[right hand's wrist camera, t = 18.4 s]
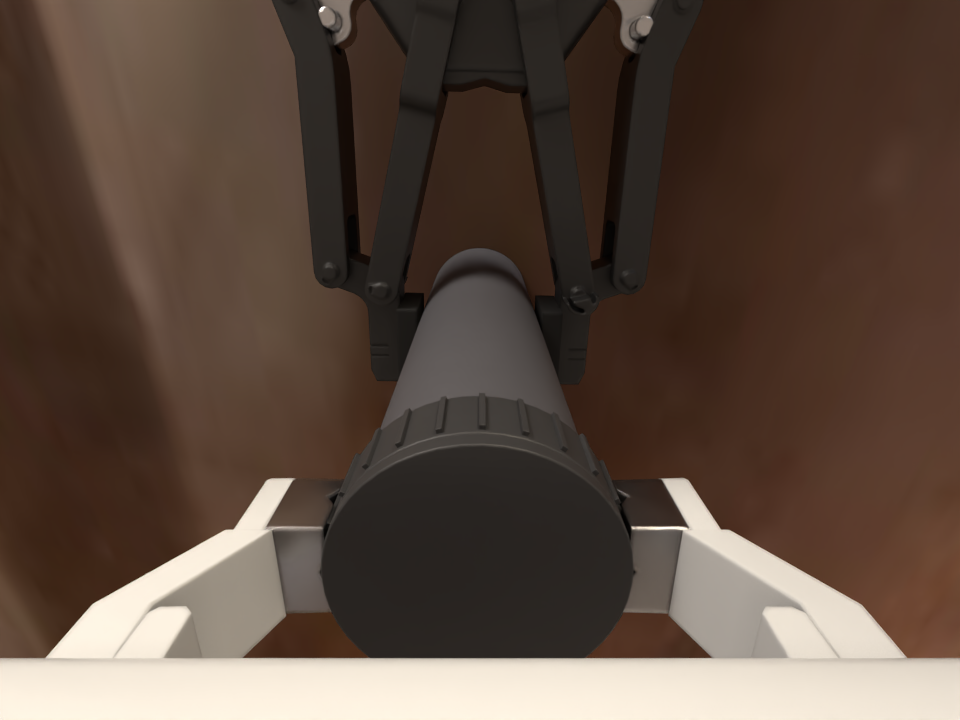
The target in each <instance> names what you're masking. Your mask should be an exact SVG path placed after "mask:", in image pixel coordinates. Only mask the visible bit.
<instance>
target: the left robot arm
mask: <svg viewBox="0 0 960 720" xmlns="http://www.w3.org/2000/svg"><path fill="white" fill-rule="evenodd" d="M364 1H366V0H272V2H273V4H274V7H275V9H276V12H277V14H278V17H279V19H280V22H281V24H282V26H283V29H284V31H285V34H286V36H287V39H288V41H289V44H290V46H291V49H292V51H293V54H294V56H295V65H296V76H297V88H298V99H299V110H300V121H301V132H302V143H303V155H304V166H305V177H306V188H307V199H308V210H309V222H310V233H311V244H312V255H313V266H314V274H315V277H316V279H317V280H318V282H319V283H320V284H321V285H323V286H324V287H327V288H341V289H344V290H346V291H349V292H352V293H354V294H356V295H358V296H359V297H361V298H362V299H363V300H364V302H365V303H366V305H367V307H368V313H369V331H370V345H371V346H370V350H371V368H372V371H373V373H374V375H375V377H376V379H377V381H398V379H399V377H400V374H401V371H402V368H403V366H404V363H405V360H406V358H407V355H408V352H409V349H410V347H411V344H412V341H413V339H414V336H415V333H416V331H417V328H418V325H419V322H420V320H421V317H422V314H423V312H424V293H405V294H404V284H405V282H406V280H407V278H408V277H407V272H408V268H409V263H410V259H411V254H412V250H413V245H414V241H415V236H416V231H417V227H418V222H419V218H420V213H421V209H422V204H423V200H424V195H425V191H426V186H427V182H428V177H429V173H430V168H431V164H432V159H433V154H434V150H435V145H436V141H437V136H438V132H439V127H440V123H441V120H442V117H443V113H444V109H445V105H446V101H447V96H448V92H449V91H453V92H463V91H467V90H471V89H474V88H478V87H482V86H487V87H490V88H493V89H496V90H499V91H502V92H505V93H520V96H521V102H522V107H523V113H524V117H525V121H526V124H527V129H528V135H529V141H530V146H531V152H532V158H533V164H534V170H535V175H536V181H537V187H538V193H539V198H540V204H541V210H542V216H543V222H544V227H545V233H546V239H547V245H548V250H549V256H550V262H551V268H552V274H553V279H554V285H555V298H554V296H536V298H535V314H536V317H537V320H538V323H539V326H540V329H541V331H542V334H543V337H544V340H545V343H546V346H547V349H548V351H549V354H550V357H551V360H552V363H553V366H554V368H555V371H556V374H557V377H558V380H559V383H560V384H579V382H580V380H581V378H582V377H583V375H584V372H585V362H586V360H585V359H586V352H587V351H586V349H587V342H588V332H589V322H590V315H591V313H592V312H594V311H595V310H596V308H597V306H598V304H599V302H600V301H601V300H603V299H605V298H608V297H612V296H615V295H618V294H621V293H622V294H627V295H629V294H634V293H636V292H637V291H639V290H640V289H641V288H642V287H643V286H644V283H645V280H646V274H647V267H648V260H649V252H650V245H651V238H652V230H653V223H654V215H655V208H656V201H657V193H658V186H659V179H660V171H661V164H662V156H663V149H664V142H665V134H666V127H667V120H668V112H669V105H670V97H671V90H672V83H673V75H674V68H675V65H676V63H677V60H678V58H679V56H680V54H681V52H682V50H683V47H684V45H685V43H686V41H687V39H688V36H689V34H690V32H691V30H692V28H693V26H694V23H695V21H696V19H697V17H698V15H699V13H700V10H701V7H702V4H703V0H370V2H371V3H372V5H373V7H374V8H375V10H376V11H377V13H378V14H379V16H380V17H381V19H382V20H383V22H384V23H385V25H386V27H387V28H388V30H389V31H390V33H391V34H392V36H393V37H394V39H395V40H396V42H397V43H398V45H399V46H400V48H401V50H402V51H403V53H404V54H405V56H406V57H407V60H406V65H405V70H404V75H403V80H402V85H401V91H400V107H399V114H398V119H397V124H396V129H395V135H394V140H393V145H392V150H391V155H390V160H389V165H388V171H387V176H386V181H385V186H384V191H383V196H382V202H381V207H380V212H379V217H378V222H377V227H376V232H375V238H374V243H373V248H372V253H371V257H369V256H366V255H364V254H361V252H360V234H359V217H358V199H357V182H356V165H355V147H354V130H353V112H352V95H351V81H350V72H349V66H348V62H347V57H346V53H345V50H344V49H345V48H348V47H349V46H351V45H352V44H353V42H354V41H355V39H356V36H357V24H356V14H357V10H358V8H359V6H360V5H361V4H362V3H363V2H364ZM604 6H606V7H607V8H608V9H610V11H611V12H612V13H613V15H614V18H615V32H614V45H615V47H616V49H617V50H618V52H619V53H621V54H622V55H624V56H626V57H625V59H624V62H623V65H622V69H621V73H620V77H619V83H618V89H617V98H616V108H615V117H614V127H613V137H612V146H611V156H610V166H609V176H608V185H607V195H606V205H605V214H604V224H603V234H602V244H601V253H600V259H597V260H594V261H591V260H590V253H589V246H588V239H587V233H586V226H585V219H584V212H583V205H582V198H581V191H580V185H579V178H578V171H577V164H576V157H575V150H574V144H573V137H572V130H571V123H570V116H569V91H568V84H567V77H566V70H565V63H564V61H565V59H566V58H567V57H568V55H569V54H570V52H571V51H572V50H573V48H574V47H575V46H576V44H577V43H578V41H579V40H580V39H581V37H582V36H583V34H584V33H585V32H586V30H587V29H588V27H589V26H590V25H591V23H592V22H593V20H594V19H595V18H596V16H597V15H598V14H599V12H600V11H601V9H602V8H603V7H604Z"/></svg>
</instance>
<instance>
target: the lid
mask: <svg viewBox="0 0 960 720" xmlns="http://www.w3.org/2000/svg"><path fill="white" fill-rule="evenodd" d="M620 503H621V502H620V500H619V497H618V495H617V492H616V490H615V487H614V485H613V482H612V480H611V478H610V475H609V473H608V470H607V468H606V465H605V463H604V461H603V460H601V461H598V459H597V458H596V456H595V454H594V453H593V451H592V450H591V448H590V446H589V444H588V441H587V439H586V436H585V435H584V434H583V433H582V434H581V435H578V434H577V433H576V432H575V431H574V430H573V429H571V428H570V427H569V426H568V425H567V424H565V423H564V422H562V421H561V420H560V419H559V416H558V414H556V413H554V412H553V413H552V414H549V413H547V412H545V411H543V410H541V409H539V408H537V407H534V406H531V405H528V404H525V403H524V400H523V399H520V398H518V400H517V401H515V400H510V399H506V398H501V397H490V396H485V393H479V396H463V397H456V398H449V399H447V397H446V396H443V397H440V401H437V402H433V403H429V404H426V405H424V406H421V407H419V408H417V409H414V410H412V411H411V409H410V408H408V409H406V410H405V411H404V414H403V416H401V417H399V418H397V419H396V420H394V421H393V422H391V423H390V424H389V425H388V426H386V427H385V428H384V429H382V430H381V429H380V428H378V429H377V430H376V431H375V433H374V435H373V438H372V440H371V441H370V442H369V443H368V445H367V446H366V448H365V449H364V450H363V452H362V453H361V454H358V453H356V454H355V456H354V458H353V460H352V463H351V465H350V468H349V470H348V472H347V475H346V477H345V480H344V482H343V484H342V487H341V489H340V491H339V494H338V496H337V498H336V501H335V503H334V508H333V511H332V513H331V515H330V518H329V520H328V522H327V525H328V531H327V534H326V537H325V540H324V544H323V550H322V556H321V578H322V583H323V589H324V594H325V597H326V600H327V602H328V605H329V608H330V610H331V612H332V614H333V616H334V618H335V620H336V622H337V623H338V625H339V626H340V627H341V629H342V630H343V632H344V633H345V634H346V636H347V637H348V638H349V639H350V640H351V641H352V642H353V643H354V644H355V645H356V646H357V647H358V648H359V649H360V650H361V651H362V652H363V653H365V654H366V655H367V656H368V657H370V658H585V657H586V656H588V655H589V654H591V653H592V652H593V651H594V650H595V649H596V648H597V647H598V646H599V645H600V644H601V643H602V642H603V641H604V640H605V639H606V637H607V636H608V635H609V634H610V633H611V631H612V630H613V629H614V627H615V626H616V624H617V622H618V621H619V619H620V618H621V616H622V614H623V611H624V609H625V607H626V604H627V602H628V599H629V595H630V591H631V588H632V583H633V571H634V563H633V551H632V547H631V543H630V539H629V535H628V532H627V530H626V527H625V525H624V522H623V520H622V517H621V507H620Z"/></svg>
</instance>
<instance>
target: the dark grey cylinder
mask: <svg viewBox="0 0 960 720" xmlns="http://www.w3.org/2000/svg"><path fill="white" fill-rule="evenodd" d="M479 393H485V396H490V397H501V398H506V399H510V400H515V401H517V400H518V398H520V399H523V400H524V403H525V404H528V405H531V406H534V407H537V408H539V409H541V410H543V411H545V412H547V413H549V414H552V413H553V412H554V413H556V414H558V416H559V419H560V420H561V421H562V422H564V423H565V424H567V425H568V426H569V427H570V428H571V429H573V430H574V431H575V432H576V433H577V431H576V428H575V425H574V422H573V419H572V417H571V414H570V411H569V408H568V405H567V402H566V400H565V397H564V394H563V391H562V388H561V385H560V383H559V380H558V377H557V374H556V371H555V368H554V366H553V363H552V360H551V357H550V354H549V351H548V349H547V346H546V343H545V340H544V337H543V334H542V331H541V329H540V326H539V323H538V320H537V317H536V314H535V312H534V309H533V306H532V303H531V300H530V297H529V295H528V292H527V289H526V286H525V283H524V280H523V278H522V275H521V273H520V271H519V270H518V268H517V267H516V265H515V264H514V263H513V262H512V261H511V260H510V259H509V258H507V257H506V256H504V255H503V254H501V253H499V252H497V251H494V250H490V249H485V248H475V249H469V250H465V251H462V252H460V253H458V254H456V255H454V256H453V257H451V258H450V259H449V260H448V261H447V262H446V263H445V264H444V265H443V266H442V267H441V269H440V271H439V272H438V274H437V277H436V279H435V282H434V284H433V287H432V290H431V293H430V295H429V298H428V301H427V303H426V306H425V309H424V312H423V314H422V317H421V320H420V322H419V325H418V328H417V331H416V333H415V336H414V339H413V341H412V344H411V347H410V349H409V352H408V355H407V358H406V360H405V363H404V366H403V368H402V371H401V374H400V377H399V379H398V382H397V385H396V387H395V390H394V393H393V396H392V398H391V401H390V404H389V406H388V409H387V412H386V415H385V417H384V420H383V423H382V425H381V428H380V429H381V430H382V429H384V428H385V427H386V426H388V425H389V424H390V423H391V422H393V421H394V420H396V419H397V418H399V417H401V416H403V414H404V411H405V410H406V409H408V408H410V409H411V411H412V410H414V409H417V408H419V407H421V406H424V405H426V404H429V403H433V402H437V401H440V397H443V396H446V397H447V399H449V398H456V397H463V396H479Z"/></svg>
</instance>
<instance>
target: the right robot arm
mask: <svg viewBox="0 0 960 720" xmlns="http://www.w3.org/2000/svg"><path fill="white" fill-rule="evenodd" d="M344 480H345V479H304V478H297V479H295V478H272V479H269V480H267V481H266V482H265V483H264V485H263V486H262V488H261V489H260V491H259V492H258V494H257V495H256V497H255V498H254V500H253V501H252V503H251V504H250V506H249V507H248V509H247V510H246V512H245V513H244V515H243V516H242V518H241V519H240V521H239V522H238V524H237V525H236V527H235V528H234V530H224V531H222V532H221V533H219V534H217V535H215V536H214V537H212V538H210V539H208V540H206V541H205V542H203V543H201V544H199V545H197V546H196V547H194V548H192V549H190V550H188V551H187V552H185V553H183V554H181V555H180V556H178V557H176V558H174V559H172V560H171V561H169V562H167V563H165V564H163V565H162V566H160V567H158V568H156V569H154V570H153V571H151V572H149V573H147V574H146V575H144V576H142V577H140V578H138V579H137V580H135V581H133V582H131V583H129V584H128V585H126V586H124V587H122V588H120V589H119V590H117V591H115V592H113V593H112V594H110V595H108V596H106V597H104V598H103V599H101V600H99V601H97V602H95V603H94V604H92V605H91V606H90V608H89V609H88V610H87V611H86V612H85V613H84V614H83V616H82V617H81V618H80V619H79V620H78V621H77V622H76V624H75V625H74V626H73V627H72V628H71V629H70V630H69V632H68V633H67V634H66V635H65V636H64V637H63V638H62V640H61V641H60V642H59V643H58V644H57V645H56V647H55V648H54V649H53V650H52V651H51V652H50V653H49V655H48V656H47V657H46V658H0V720H960V658H907V657H906V656H905V655H904V654H903V653H902V651H901V650H900V649H899V648H898V647H897V646H896V644H895V643H894V642H893V641H892V640H891V638H890V637H889V636H888V635H887V634H886V633H885V631H884V630H883V629H882V628H881V627H880V626H879V624H878V623H877V622H876V621H875V620H874V619H873V617H872V616H871V615H870V614H869V613H868V612H867V610H866V609H865V608H864V607H863V606H862V605H861V604H859V603H858V602H856V601H854V600H852V599H850V598H849V597H847V596H845V595H843V594H842V593H840V592H838V591H836V590H835V589H833V588H831V587H829V586H828V585H826V584H824V583H822V582H820V581H819V580H817V579H815V578H813V577H812V576H810V575H808V574H806V573H805V572H803V571H801V570H799V569H797V568H796V567H794V566H792V565H790V564H789V563H787V562H785V561H783V560H782V559H780V558H778V557H776V556H775V555H773V554H771V553H769V552H767V551H766V550H764V549H762V548H760V547H759V546H757V545H755V544H753V543H752V542H750V541H748V540H746V539H744V538H743V537H741V536H739V535H737V534H736V533H734V532H732V531H730V530H721V529H720V527H719V526H718V524H717V523H716V521H715V520H714V518H713V517H712V515H711V514H710V512H709V511H708V509H707V508H706V506H705V505H704V503H703V502H702V500H701V499H700V497H699V496H698V494H697V493H696V491H695V490H694V488H693V487H692V485H691V484H690V482H689V481H688V480H687V479H685V478H666V479H639V480H612V482H613V485H614V487H615V490H616V492H617V495H618V497H619V500H620V502H621V503H620V507H621V517H622V520H623V522H624V525H625V527H626V530H627V532H628V535H629V539H630V543H631V547H632V551H633V563H634V571H633V583H632V588H631V591H630V595H629V599H628V602H627V604H626V607H625V609H624V611H623V612H637V613H669V616H670V617H671V618H672V619H673V620H674V621H675V622H676V623H677V624H678V625H679V626H680V627H681V628H682V629H683V630H684V631H685V632H686V633H687V634H688V635H689V636H690V637H691V638H692V639H693V640H694V641H696V642H697V643H698V644H699V645H700V646H701V647H702V648H703V649H704V650H705V651H706V652H707V653H708V654H709V655H710V656H711V657H712V658H243V657H244V656H245V655H246V654H247V653H248V652H249V651H250V650H251V649H252V648H253V647H254V646H255V645H256V644H257V643H258V642H259V641H261V640H262V639H263V638H264V637H265V636H266V635H267V634H268V633H269V632H270V631H271V630H272V629H273V628H274V627H275V626H276V625H277V624H278V623H279V622H280V621H281V620H283V619H284V618H285V617H286V613H317V612H331V610H330V608H329V605H328V602H327V600H326V597H325V594H324V589H323V583H322V578H321V556H322V550H323V544H324V540H325V537H326V534H327V531H328V525H327V522H328V520H329V518H330V515H331V513H332V511H333V508H334V503H335V501H336V498H337V496H338V494H339V491H340V489H341V487H342V484H343V482H344Z"/></svg>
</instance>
